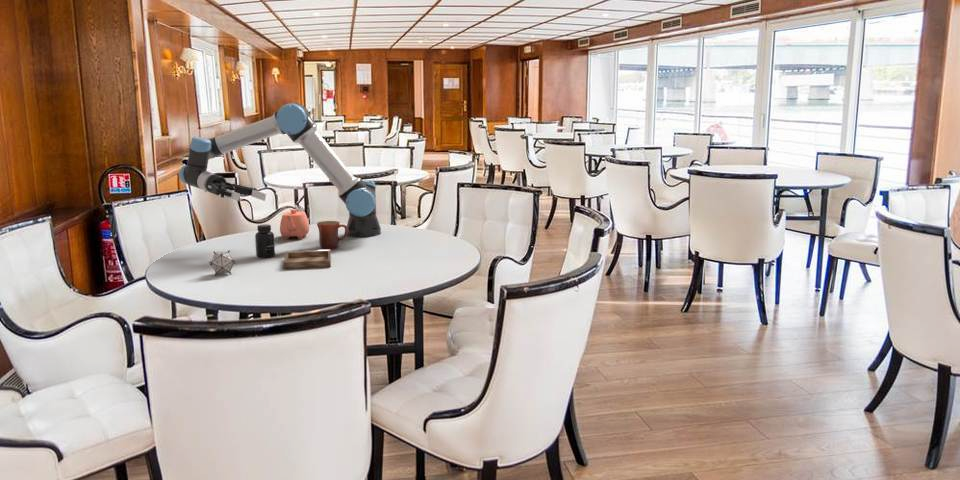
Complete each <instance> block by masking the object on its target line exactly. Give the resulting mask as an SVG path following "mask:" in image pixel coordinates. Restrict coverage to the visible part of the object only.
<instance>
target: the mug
mask: <svg viewBox="0 0 960 480" xmlns="http://www.w3.org/2000/svg"><path fill="white" fill-rule="evenodd" d="M316 226H317V229H318V236H319V238H318V239H319V246H320V249H321V250H327V249H331V250H335V249H337V248H339V243H340V241H342V240H343V241H344V239H346V237H347V236H348V235H347V232H348V229H347V224H346V225H345V224H341V223H340V221H337V220H324V221H323V220H322V221H317V223H316ZM340 228H344V235H343V236H340V237H339V229H340Z"/></svg>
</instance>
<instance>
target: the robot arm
mask: <svg viewBox="0 0 960 480" xmlns="http://www.w3.org/2000/svg"><path fill="white" fill-rule="evenodd" d="M279 134H281V135H282V136H284V135H287V136H288V137H289V139H290V140H291V141H292V143H295V144H299V145H300V146H301V147H302V148H303V150H304V151H305V152H306V153H307V155H309V157H310V158H311V160H313V162H314V163H315V164H316V166H318V168H319V169H320V170H321V171H322V172H323V174H324V175H325V176H326V177H327V179H328V180H329V181H330V182H331V184H332V185H334V187H335V188H336V189H337V192H338V193H337V197H339V199H340V200H341V201H342V202H343V203H344V205H345V207H346V209H347V211H348V213H349V214H348V220H347V223H346V226H347V229H348V232H347V236H349V237H361V238H363V237H372V236H374V237H375V236H378V235H380V234H382V230H381V229H382V228H381V225H380V223H379V220H378V217H377V198H376V197H377V196H376V195H377V193H376V188H377V186H376V182H375V181H373V180H369V181H368V180H364V181H363V180H362V178H361V177H356V176H354V175H353V173H352V172H351V171H350V169H348V167H347V166H346V165H345V164H344V162H343V161H342V160H341V158H340V157H339V156H338V155H337V154H336V153H335V150H333V149H332V148H331V146H330V145H329V144H328V143H327V141H325V139H324V138H323V137H322V135H321V134H320V132H318V130H317V123H316V122H315V121H314V120H313V118H312V117H311V116H310V112H309V110H308V109H307V108H306V107H305V106H304V105H303V104H300V103H295V102H293V103H292V102H291V103H287V104H284V105H282V106H281V107H280V108H279V109H278V111H275V112H273V115H271V116H269V117H266V118H264V119H261V120H258V121H255V122H253V123H250V124H247V125H244V126H242V127H240V128H239V127H238V128H237V129H234V130H231V131H228V132H226V133H223V134H220V135H217V136H215V137H211V138H209V139H208V138H204V137H198V136H197V137H196V136H193V137H192V138H191V140H190V144H189V151H188V156H187V157H188V158H187V162H186V163H187V164H186V165H183V166H182V167H181V168H180V170H179V174H178V177H179V179H180V181H181V182H182V183H184V184H186V185H188V186H189V187H190V186H191V187H195V188H196V189H199V190H201V191H204V192H205V193H210V194H213V195H216V196H220V198H225V197H227V198H229V199H232V200H234V201H238V202H239V201H240V196H241V194H242V195H246V196H250V197H253V198H255V199H257V200H261V201H263V202H264V201H266V196H267V193H264V192H261V191H259V190H258V189H257V188H256V187H249V186H244V185H240V184H237V183H231V182H227V180H226V178H225V177H224V176H222V175H219V174H216V173H213V172H210V171H209V170H208V164H209V160H212V159H215V158H216V157H220V156H222V155H225V154H227V153H230V152H233V151H235V150H238V149H241V148H244V147H246V146H248V145H252V144H255V143H257V142H259V141H263V140H265V139H268V138H271V137H273V136H276V135H279ZM207 170H208V171H207Z"/></svg>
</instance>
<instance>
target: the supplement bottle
mask: <svg viewBox="0 0 960 480" xmlns="http://www.w3.org/2000/svg"><path fill="white" fill-rule="evenodd" d="M271 227H272V225H271V224H267V223H266V224H257V229H256V230H257V232H256V233H255V236H254V239H255V240H254V241H255V254H256V255H255V256H256V258H258V259H271V258H274V257H275V255H276V249H275V248H276V247H275V234H274V233H273V231H272V228H271Z"/></svg>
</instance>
